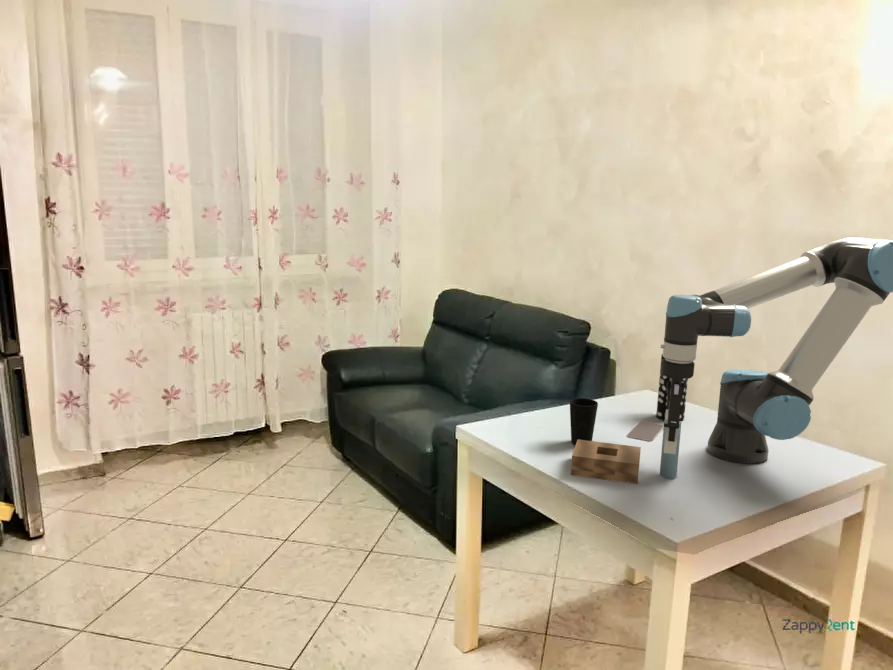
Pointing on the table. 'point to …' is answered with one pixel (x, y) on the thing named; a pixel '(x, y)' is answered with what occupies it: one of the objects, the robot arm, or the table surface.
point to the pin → (669, 457)
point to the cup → (582, 419)
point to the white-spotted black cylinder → (663, 397)
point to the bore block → (606, 461)
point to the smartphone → (645, 431)
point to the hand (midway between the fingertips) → (669, 443)
